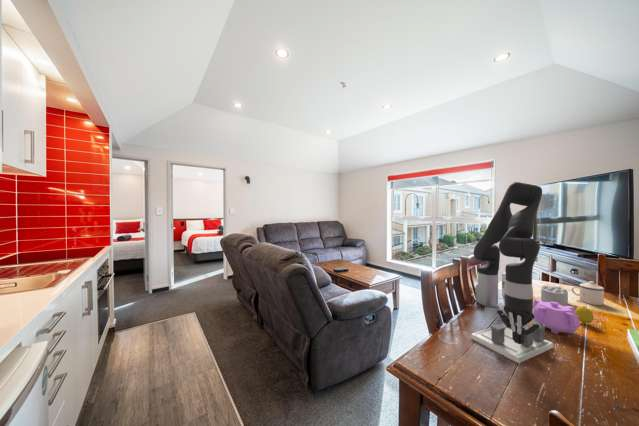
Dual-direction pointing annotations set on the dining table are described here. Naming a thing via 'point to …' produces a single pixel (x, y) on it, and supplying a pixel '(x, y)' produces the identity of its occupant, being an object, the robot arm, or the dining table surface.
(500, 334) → the grey upright block
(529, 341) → the handle middle
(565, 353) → the dining table surface
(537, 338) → the handle
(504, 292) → the syrup box
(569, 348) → the dining table surface
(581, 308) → the lemon
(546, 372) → the dining table surface
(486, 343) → the panel
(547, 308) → the purple rounded body
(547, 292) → the lumpy-topped squat cylinder
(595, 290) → the teacup with lid
